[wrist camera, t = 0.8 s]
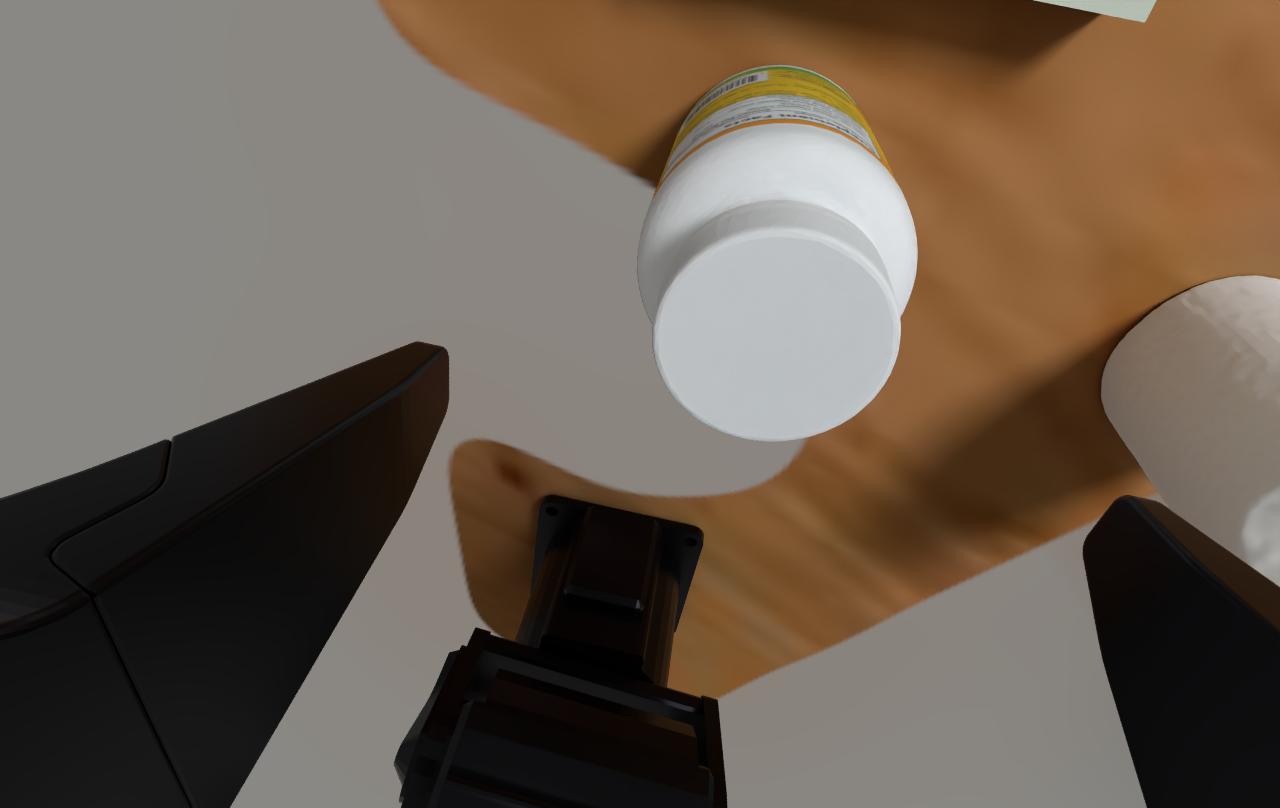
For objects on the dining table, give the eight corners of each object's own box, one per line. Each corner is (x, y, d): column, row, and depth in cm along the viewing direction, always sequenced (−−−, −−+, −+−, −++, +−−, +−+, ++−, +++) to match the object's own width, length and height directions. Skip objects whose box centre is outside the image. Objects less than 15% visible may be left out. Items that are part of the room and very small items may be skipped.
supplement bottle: (821, 283, 21) (856, 510, 13) (649, 228, 21) (578, 424, 13) (910, 98, 18) (1027, 249, 10) (707, 31, 17) (661, 130, 10)
